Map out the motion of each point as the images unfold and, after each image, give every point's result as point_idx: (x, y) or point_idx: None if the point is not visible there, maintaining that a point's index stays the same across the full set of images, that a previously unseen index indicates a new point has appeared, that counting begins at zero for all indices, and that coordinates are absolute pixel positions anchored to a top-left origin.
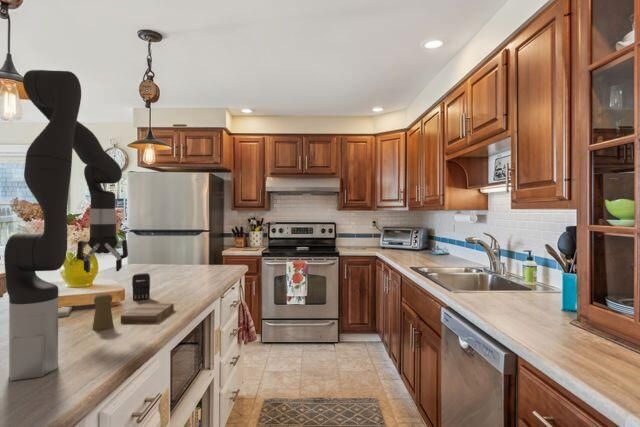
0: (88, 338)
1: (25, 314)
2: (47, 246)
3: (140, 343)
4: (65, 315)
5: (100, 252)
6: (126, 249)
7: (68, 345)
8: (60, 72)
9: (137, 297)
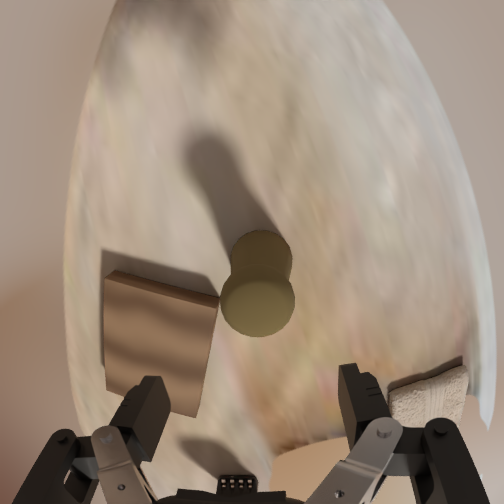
0: (271, 154)
1: None
2: None
3: (111, 86)
4: (395, 389)
5: (250, 501)
6: (29, 473)
7: (308, 103)
8: None
9: (245, 481)
